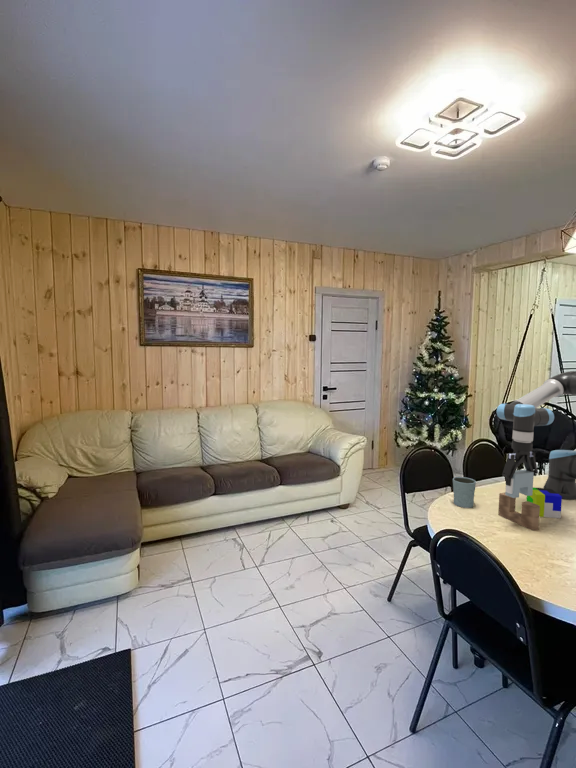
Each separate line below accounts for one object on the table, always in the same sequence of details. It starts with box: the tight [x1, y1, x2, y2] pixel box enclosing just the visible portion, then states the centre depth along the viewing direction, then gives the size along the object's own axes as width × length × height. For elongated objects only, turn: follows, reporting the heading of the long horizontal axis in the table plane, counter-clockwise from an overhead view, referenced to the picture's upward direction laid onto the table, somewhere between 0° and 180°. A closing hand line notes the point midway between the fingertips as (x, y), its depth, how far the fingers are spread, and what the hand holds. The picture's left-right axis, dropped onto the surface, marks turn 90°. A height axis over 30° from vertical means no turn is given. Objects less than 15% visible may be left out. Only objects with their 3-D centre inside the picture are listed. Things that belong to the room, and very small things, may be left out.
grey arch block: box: [504, 469, 535, 499], centre depth 161 cm, size 11×4×10 cm, turn 111°
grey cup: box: [452, 476, 477, 509], centre depth 181 cm, size 10×10×12 cm
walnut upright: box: [497, 492, 540, 531], centre depth 162 cm, size 16×4×10 cm, turn 21°
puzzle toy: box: [526, 486, 563, 519], centre depth 172 cm, size 10×10×10 cm
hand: (519, 491), depth 162 cm, fingers closed on grey arch block, 11 cm apart
